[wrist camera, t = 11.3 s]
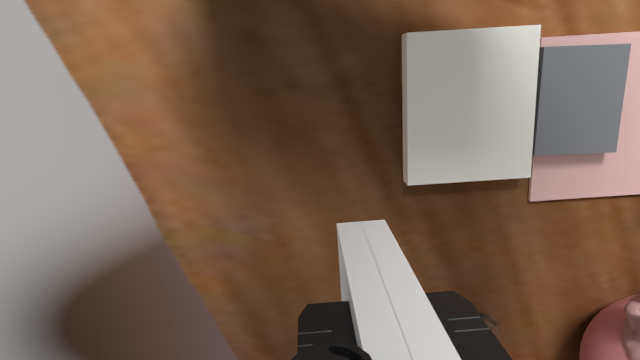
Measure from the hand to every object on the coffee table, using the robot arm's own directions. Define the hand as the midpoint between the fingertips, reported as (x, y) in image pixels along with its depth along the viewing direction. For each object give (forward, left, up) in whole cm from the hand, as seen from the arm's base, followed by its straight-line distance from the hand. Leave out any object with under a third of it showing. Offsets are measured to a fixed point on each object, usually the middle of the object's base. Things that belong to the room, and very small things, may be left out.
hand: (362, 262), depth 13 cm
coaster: (-2, +24, -28) cm, 37 cm away
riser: (-2, +14, -28) cm, 32 cm away
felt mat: (0, +27, -28) cm, 39 cm away
